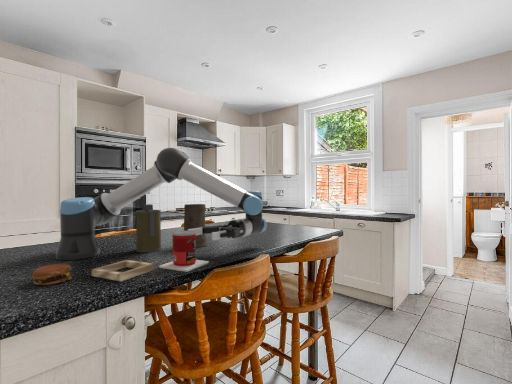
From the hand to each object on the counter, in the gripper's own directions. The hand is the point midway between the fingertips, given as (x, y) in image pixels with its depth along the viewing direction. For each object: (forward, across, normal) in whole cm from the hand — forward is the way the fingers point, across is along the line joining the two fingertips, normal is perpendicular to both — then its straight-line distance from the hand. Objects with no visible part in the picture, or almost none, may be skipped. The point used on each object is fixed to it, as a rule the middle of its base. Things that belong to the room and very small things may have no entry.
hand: (199, 234), depth 104 cm
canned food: (+7, 0, -10) cm, 12 cm away
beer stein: (-20, +27, -10) cm, 35 cm away
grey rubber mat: (+7, 0, -10) cm, 12 cm away
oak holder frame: (+24, +8, -10) cm, 27 cm away
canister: (+1, +34, -10) cm, 35 cm away
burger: (+41, +17, -10) cm, 45 cm away
